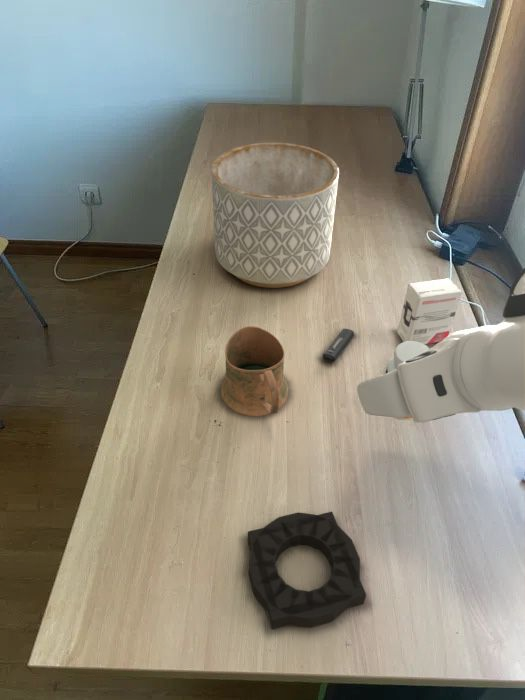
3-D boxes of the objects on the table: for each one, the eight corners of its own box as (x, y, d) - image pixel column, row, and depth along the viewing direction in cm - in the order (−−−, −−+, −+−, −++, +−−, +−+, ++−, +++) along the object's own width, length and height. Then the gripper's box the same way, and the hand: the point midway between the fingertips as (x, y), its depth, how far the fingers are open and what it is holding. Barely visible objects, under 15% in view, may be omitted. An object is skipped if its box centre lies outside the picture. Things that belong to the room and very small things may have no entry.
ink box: (435, 325, 111) (450, 276, 104) (447, 341, 108) (463, 291, 100) (396, 331, 110) (407, 282, 102) (406, 348, 106) (419, 298, 98)
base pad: (374, 609, 70) (377, 600, 68) (265, 640, 67) (266, 631, 66) (334, 512, 80) (336, 503, 78) (238, 535, 77) (238, 526, 76)
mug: (238, 450, 88) (237, 398, 80) (215, 374, 100) (211, 322, 92) (308, 436, 90) (313, 383, 82) (277, 362, 103) (279, 311, 95)
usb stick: (342, 331, 110) (343, 325, 109) (355, 336, 109) (356, 330, 108) (320, 359, 104) (321, 353, 103) (333, 365, 103) (334, 358, 102)
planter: (285, 310, 114) (290, 211, 99) (192, 267, 125) (184, 171, 110) (349, 256, 129) (362, 163, 114) (261, 221, 141) (262, 132, 126)
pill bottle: (397, 385, 80) (411, 331, 73) (430, 408, 76) (447, 355, 70) (370, 403, 77) (381, 350, 70) (402, 429, 74) (418, 375, 67)
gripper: (538, 315, 64) (459, 330, 77) (390, 369, 57) (330, 376, 70) (555, 368, 64) (472, 374, 77) (409, 428, 57) (346, 424, 70)
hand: (404, 375), depth 73 cm, fingers closed on pill bottle, 6 cm apart
